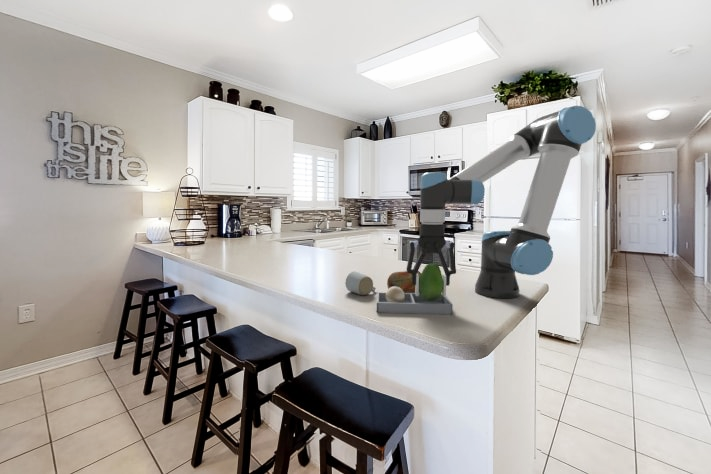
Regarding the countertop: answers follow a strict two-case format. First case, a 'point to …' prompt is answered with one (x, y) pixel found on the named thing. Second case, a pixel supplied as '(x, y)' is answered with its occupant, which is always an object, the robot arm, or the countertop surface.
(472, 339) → the countertop surface
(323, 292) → the countertop surface
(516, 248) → the robot arm
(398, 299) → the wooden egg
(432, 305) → the grey divided tray
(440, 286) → the avocado
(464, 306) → the countertop surface
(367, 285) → the ceramic mug
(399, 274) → the tin
